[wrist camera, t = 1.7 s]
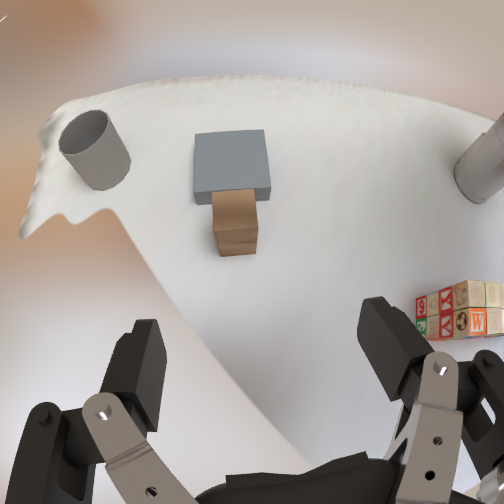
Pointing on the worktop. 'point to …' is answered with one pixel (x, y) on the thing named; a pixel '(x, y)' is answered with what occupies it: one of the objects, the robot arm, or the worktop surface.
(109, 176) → the cup
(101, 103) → the worktop surface
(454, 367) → the robot arm
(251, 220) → the walnut block
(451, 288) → the stack of blocks
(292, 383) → the worktop surface
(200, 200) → the slate block
